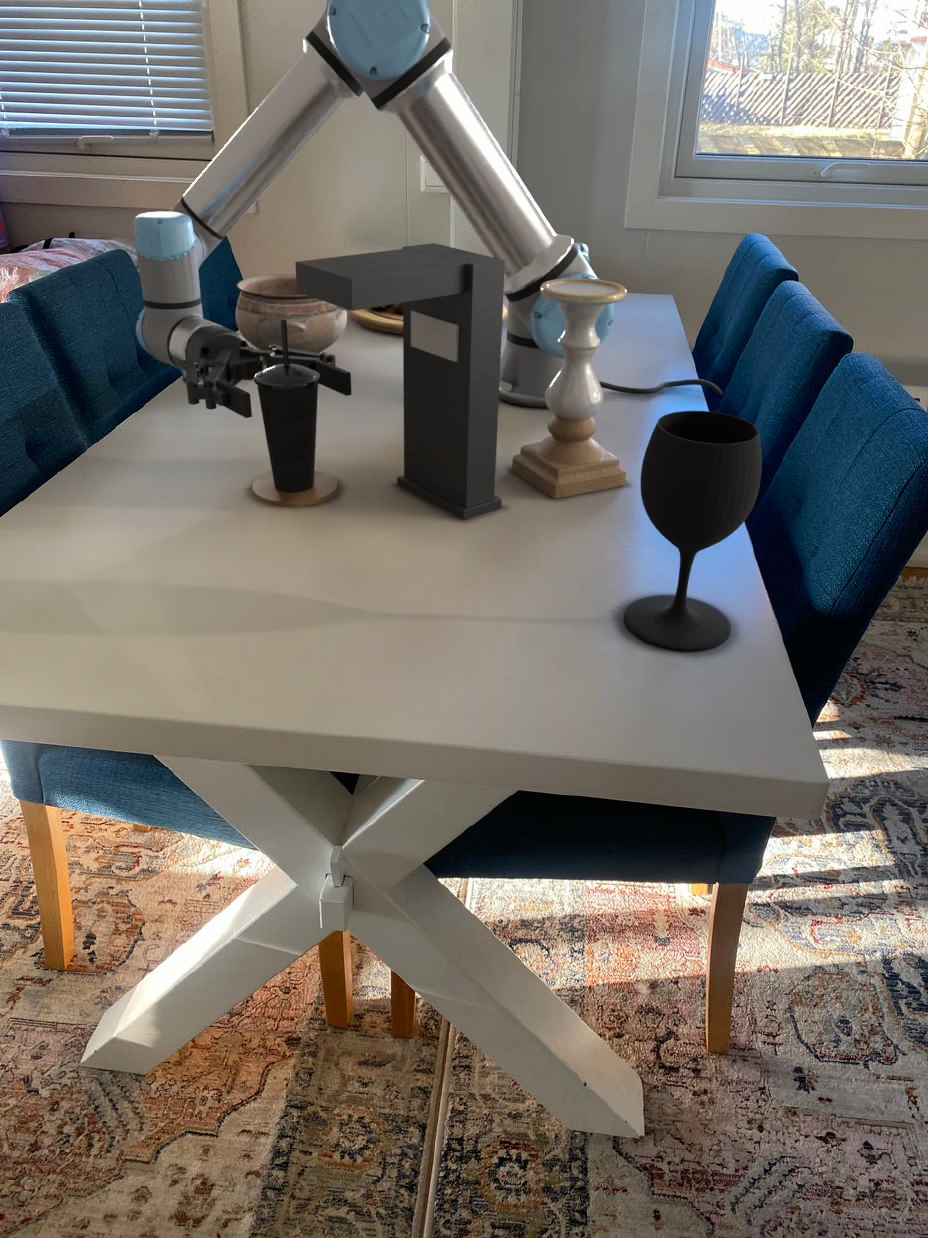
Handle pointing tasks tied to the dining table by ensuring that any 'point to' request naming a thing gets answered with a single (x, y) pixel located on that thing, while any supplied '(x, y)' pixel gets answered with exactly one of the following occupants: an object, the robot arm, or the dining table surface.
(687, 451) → the wine glass
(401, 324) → the wooden plate
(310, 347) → the cooking pot
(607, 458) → the candle holder
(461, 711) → the dining table surface
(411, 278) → the coffee maker
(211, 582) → the dining table surface
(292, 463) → the drinking cup
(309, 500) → the coaster
